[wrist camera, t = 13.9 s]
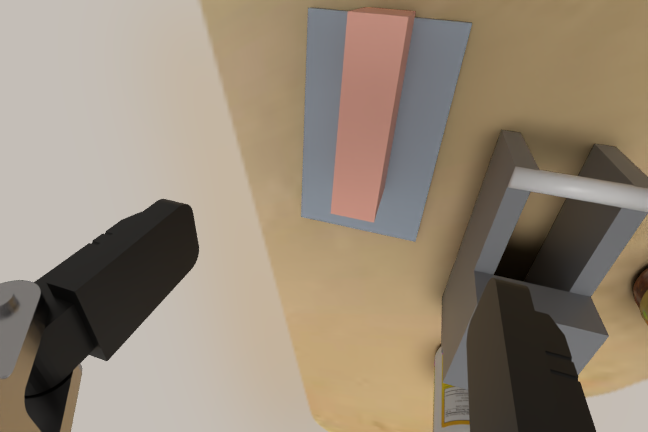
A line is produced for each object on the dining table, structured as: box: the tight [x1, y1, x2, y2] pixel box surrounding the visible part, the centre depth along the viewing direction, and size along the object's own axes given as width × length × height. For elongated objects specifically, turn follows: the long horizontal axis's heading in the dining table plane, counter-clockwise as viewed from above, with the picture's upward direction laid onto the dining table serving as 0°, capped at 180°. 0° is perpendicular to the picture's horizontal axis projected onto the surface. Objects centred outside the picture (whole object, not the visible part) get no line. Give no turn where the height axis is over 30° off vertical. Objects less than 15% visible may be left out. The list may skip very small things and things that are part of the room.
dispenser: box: [441, 130, 648, 390], centre depth 24 cm, size 16×7×9 cm, turn 176°
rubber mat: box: [301, 8, 472, 241], centre depth 26 cm, size 16×10×1 cm, turn 176°
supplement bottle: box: [433, 347, 470, 432], centre depth 30 cm, size 7×7×13 cm
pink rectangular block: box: [331, 7, 416, 223], centre depth 23 cm, size 12×3×5 cm, turn 176°
